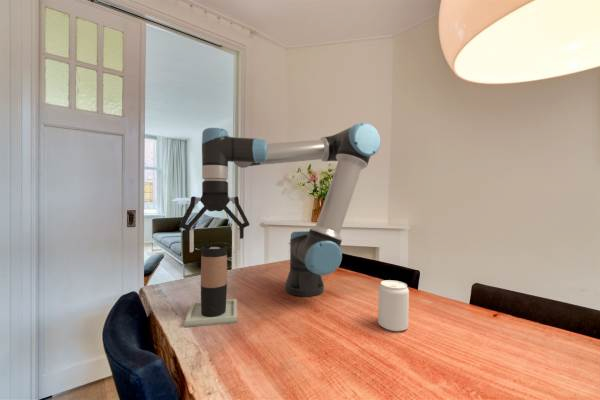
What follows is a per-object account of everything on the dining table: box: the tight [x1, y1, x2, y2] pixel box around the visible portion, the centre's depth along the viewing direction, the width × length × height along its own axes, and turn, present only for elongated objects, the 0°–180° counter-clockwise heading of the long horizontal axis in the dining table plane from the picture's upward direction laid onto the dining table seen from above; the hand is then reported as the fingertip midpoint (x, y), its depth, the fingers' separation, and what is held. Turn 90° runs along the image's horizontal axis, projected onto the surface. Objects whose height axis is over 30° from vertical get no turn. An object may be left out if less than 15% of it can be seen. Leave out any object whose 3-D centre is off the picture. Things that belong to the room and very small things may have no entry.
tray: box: [184, 298, 238, 328], centre depth 83 cm, size 14×14×2 cm
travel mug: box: [200, 244, 228, 317], centre depth 83 cm, size 8×8×20 cm
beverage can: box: [377, 279, 410, 332], centre depth 77 cm, size 8×8×12 cm
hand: (215, 250), depth 83 cm, fingers open, 13 cm apart
